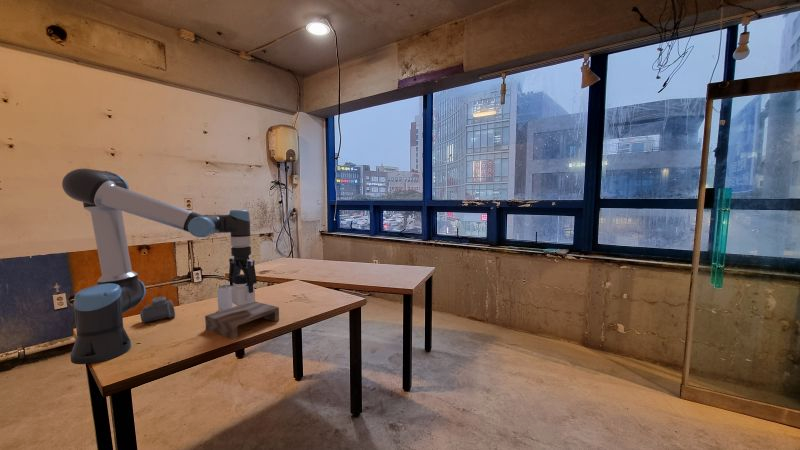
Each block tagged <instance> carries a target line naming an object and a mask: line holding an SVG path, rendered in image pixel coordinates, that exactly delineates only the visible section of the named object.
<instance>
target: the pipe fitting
mask: <svg viewBox="0 0 800 450" xmlns="http://www.w3.org/2000/svg"><path fill="white" fill-rule="evenodd" d="M175 311H176V310H175V306H174V303H173V301H172V300H171V299H168V300H167V297H166V296H158V297H154V298H153V299H152V300H151V304H149V305H145V306H144V307H143V309H142V310H141V311H140V312H139V316H140V321H141V323H143V324H147V323H150V322H151V323H152V322H153V321H156V320H159V319H164V318H168V319H171V318H172V319H173V318H175V317H176V312H175Z"/></svg>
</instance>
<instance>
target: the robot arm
mask: <svg viewBox="0 0 800 450" xmlns="http://www.w3.org/2000/svg"><path fill="white" fill-rule="evenodd" d="M61 186H62V187H61V188H62V189H63V191H64V192H65V195H67V196H68V197H69V198H71V199H72V200H76V201H78V202H82V205H83V209H84V210H86V211H88V212H89V213H90V217H91V222H92V229H93V232H94V237H95V244H96V249H97V250H96V251H97V254H98V261H99V265H100V272H101V276H100V277H99V278H98V279H97V284H94V285H92V286H87V287H85V288H82V289H80V290H79V291H78V292H76V293H75V295H74V300H73V301H74V302H73V308H74V318H75V330H76V331H75V332H76V338H75V341H74V345H73V347H72V349H71V353H70V362H71V363H72V364H74V365H88V364H94V363H95V364H96V363H99V362H103V361H107V360H109V359H110V360H111V359H113V358H117V357H118V356H121V355H123V354H125V353H127V352H128V351H130V349H131V348H132V342H131V338H130V336H129V335H128V333H127V332H126V330H125V328H124V318H123V314H124V313H126V312H127V311H129V310H131V309H133V308H135V307H136V306H138V305H139V304H140V303H141V301H143V299H144V298H145V297H146V292H147V289H146V286H145V284H144V282H143V281H141V280H140V279H139V275H138V272H136V271H133V268H132V264H131V258H130V253H129V247H128V240H127V234H126V229H125V228H126V227H125V222H124V217H123V212H125V213H127V214H131V215H134V216H137V217H140V218H143V219H147V220H150V221H153V222H156V223H159V224H162V225H165V226H169V227H172V228H176V229H177V230H182V231H184V232H187V233H190V234H191V236H194V237H196V238H206V237H209V236H211V235H214V234H224V233H226V234H229V233H230V246H231V248H230V251H231V253H230V254H231V255H230V256H232V257H231V258H229V259H228V260H229V261H228V263H229V268H228V269H229V271H228V281H231V283H232V286H235V280H234V277H235V276H237V275H240V274H241V271H242V272H243V273H242V274H244V276H245V279H246V282H247V285H246V301H249V300H252V299H253V286H254V285H256V284H257V282H258V281H257V274H256V267H255V265H256V264H255V261H256V260H254V259H253V260H251V259H250V255H252V246H251V244H252V243H251V219H250V212H249V210H248V209H231V210H229V214H201V213H197V212H194V211H192V210H189V209H186V208H183V207H180V206H177V205H174V204H171V203H169V202H166V201H162V200H160V199H158V198H157V199H156V198H155V197H154V198H153V197H151V196H148V195H145V194H141V193H139V192H137V191H133V190H130V189H129V188H130V187H129V185H128V181H126V180H125V179H124V178H123V177H122V176H121V175H119V174H117V173H114V172H111V171H108V170H97V169H91V168H76V169H73V170H71V171H69V172H68V173H66V175H65V176H64V177H63V178H62V181H61Z"/></svg>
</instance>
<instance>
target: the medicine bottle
mask: <svg viewBox="0 0 800 450" xmlns="http://www.w3.org/2000/svg"><path fill="white" fill-rule="evenodd" d="M234 280H235V286H233V285H231V296H232V303H233V305H235V306H240V305H244V304H249V303H253V302H256V297H255V296H256V294H255V293H256V292H255V290H256V289H255V285H253V299H252V300H249V301H246V285H247V282H246V279H245V276H244V273H242V274H241V273H240V275H237V276H235V277H234Z"/></svg>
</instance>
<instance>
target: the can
mask: <svg viewBox="0 0 800 450" xmlns="http://www.w3.org/2000/svg"><path fill="white" fill-rule="evenodd" d="M231 286H232V285H231V284H225V285H220V286H218V288H217V292H216V293H217V312H219V311H222V310H225V309H228V308H232V307H234V303H232V296H231Z"/></svg>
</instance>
